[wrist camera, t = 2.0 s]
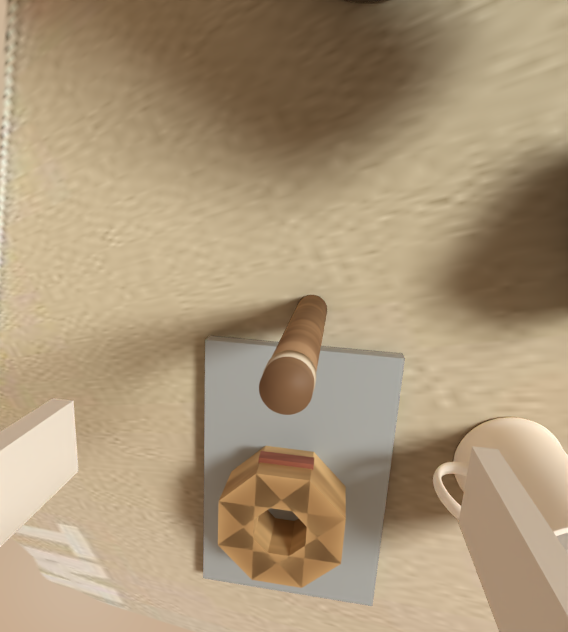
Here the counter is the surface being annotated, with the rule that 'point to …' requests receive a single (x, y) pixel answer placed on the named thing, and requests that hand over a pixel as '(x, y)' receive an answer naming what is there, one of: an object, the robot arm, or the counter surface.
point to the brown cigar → (295, 359)
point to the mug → (518, 467)
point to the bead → (279, 534)
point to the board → (305, 449)
